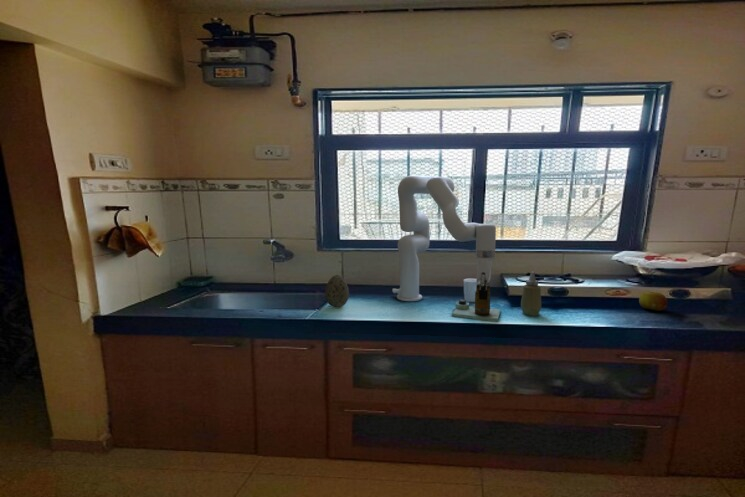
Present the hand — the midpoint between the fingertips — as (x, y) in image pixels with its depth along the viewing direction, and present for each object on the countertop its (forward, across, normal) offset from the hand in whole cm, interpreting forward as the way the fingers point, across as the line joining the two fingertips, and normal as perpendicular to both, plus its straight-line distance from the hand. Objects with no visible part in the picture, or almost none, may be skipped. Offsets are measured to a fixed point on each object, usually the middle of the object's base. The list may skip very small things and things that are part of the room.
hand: (484, 296), depth 145 cm
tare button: (+6, -5, -10) cm, 12 cm away
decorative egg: (+8, +11, -63) cm, 65 cm away
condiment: (+7, +1, 0) cm, 7 cm away
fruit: (+8, -34, +66) cm, 75 cm away
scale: (+8, -2, -3) cm, 9 cm away
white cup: (+8, -22, -8) cm, 25 cm away
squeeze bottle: (+8, -10, +18) cm, 22 cm away
